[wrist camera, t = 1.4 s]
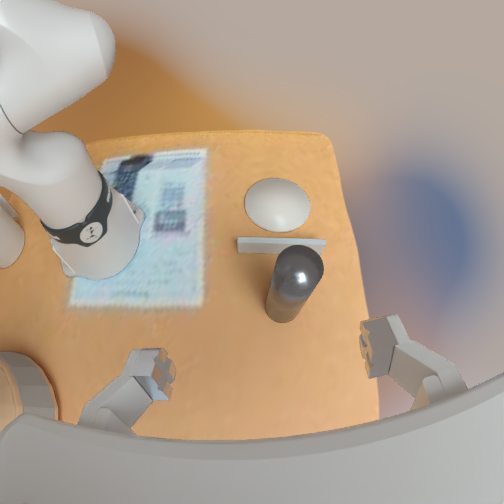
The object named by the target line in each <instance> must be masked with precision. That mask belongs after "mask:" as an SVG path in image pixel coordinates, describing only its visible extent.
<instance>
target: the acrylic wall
mask: <svg viewBox="0 0 504 504" xmlns="http://www.w3.org/2000/svg"><path fill="white" fill-rule="evenodd" d="M237 245H238V253H262V254H280V253H281V252H282V251H283V250H284V249H285V248H287V247H289V246H292V245H304V246H307V247H310V248H311V249H313V250H314V251H316V252H317V253H318V255H321V254H322V252H323V250H324V248H325V246H326V240H325V239H298V238H260V237H238V241H237Z"/></svg>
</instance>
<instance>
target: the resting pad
mask: <svg viewBox="0 0 504 504" xmlns="http://www.w3.org/2000/svg"><path fill="white" fill-rule="evenodd" d="M245 210H246V213H247V215H248V217H249V218H250V220H251V221H252V222H253V223H254V224H256V225H257V226H258V227H260V228H262V229H264V230H267V231H270V232H275V233H285V232H290V231H293V230H295V229H297V228H299V227H300V226H302V225H303V224H304V223H305V221H306V220H307V218H308V216H309V213H310V201H309V198H308V196H307V194H306V193H305V191H304V190H303V189H302V188H301V187H299V186H298V185H297V184H295V183H293V182H291V181H288V180H285V179H280V178H269V179H265V180H262V181H259V182H257V183H256V184H254V185H253V186H252V187H251V188H250V189H249V190H248V192H247V194H246V197H245Z"/></svg>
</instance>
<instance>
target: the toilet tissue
mask: <svg viewBox="0 0 504 504" xmlns="http://www.w3.org/2000/svg"><path fill="white" fill-rule="evenodd" d="M18 215H19V214H18V213H17V212H16V211H15V210H14V209H13V208H12V206H10V204H9V203H8V202H7V201H6V200H5V199H4V197H2V195H1V194H0V268H7V267H9V266H10V265H12V264H13V263H14V262H15V261H16V260H17V258H18V257H19V255H20V254H21V251H22V250H23V247H24V242H25V233H24V230H23V229H22V227H21V226H20V225H19V224H18V223H17V222H16V221H15V220H14V218H16V217H17V216H18Z"/></svg>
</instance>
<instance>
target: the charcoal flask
mask: <svg viewBox="0 0 504 504" xmlns="http://www.w3.org/2000/svg"><path fill="white" fill-rule="evenodd" d="M323 271H324V266H323V262H322V259H321V257H320V256H319V255H318V253H317V252H316V251H314V250H313V249H311V248H310V247H307V246H304V245H292V246H289V247H287V248H285V249H284V250H283V251H282V252H281V253H280V254H279V256H278V258H277V261H276V265H275V269H274V273H273V277H272V281H271V284H270V288H269V292H268V296H267V299H266V303H265V309H266V313H267V315H268V316H269V317H270V318H271V319H272V320H273V321H275V322H279V323H286V322H289V321H291V320H293V319H294V318H295V317H296V315H297V314H298V312H299V311H300V309H301V308H302V306H303V305H304V303H305V302H306V301H307V299H308V298H309V296H310V295H311V293H312V292H313V290H314V289H315V287H316V285H317V284H318V282H319V281H320V279H321V278H322V275H323Z"/></svg>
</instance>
